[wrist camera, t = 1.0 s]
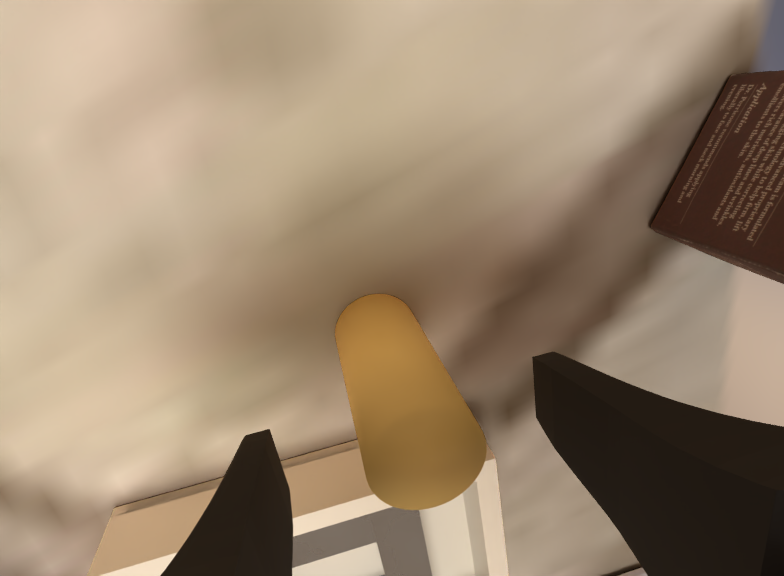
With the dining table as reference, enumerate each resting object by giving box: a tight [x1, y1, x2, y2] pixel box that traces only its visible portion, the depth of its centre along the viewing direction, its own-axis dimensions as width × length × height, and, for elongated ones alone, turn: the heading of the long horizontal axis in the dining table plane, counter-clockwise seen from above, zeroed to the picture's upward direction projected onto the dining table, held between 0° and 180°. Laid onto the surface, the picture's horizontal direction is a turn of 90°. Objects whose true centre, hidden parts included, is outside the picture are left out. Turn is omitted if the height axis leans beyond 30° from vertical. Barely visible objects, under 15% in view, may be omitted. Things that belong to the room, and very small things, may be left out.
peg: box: [335, 294, 487, 510], centre depth 15 cm, size 3×3×7 cm
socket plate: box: [292, 507, 432, 576], centre depth 20 cm, size 8×8×2 cm
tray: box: [87, 440, 509, 576], centre depth 20 cm, size 10×14×3 cm
